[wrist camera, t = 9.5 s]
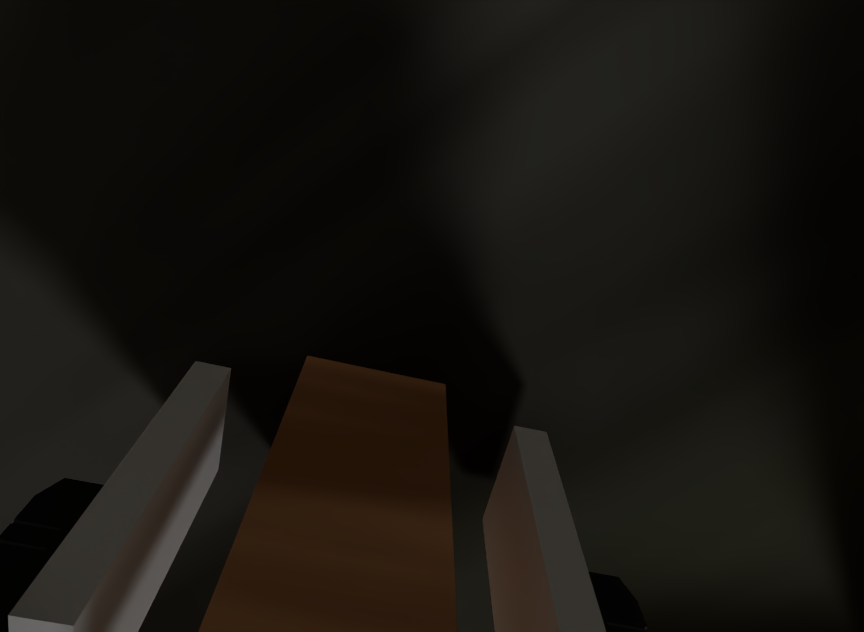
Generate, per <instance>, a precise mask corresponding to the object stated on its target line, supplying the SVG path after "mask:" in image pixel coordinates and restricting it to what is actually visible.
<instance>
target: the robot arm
mask: <svg viewBox="0 0 864 632" xmlns="http://www.w3.org/2000/svg"><path fill="white" fill-rule="evenodd" d="M230 373H231V368H228V367H223V366H218V365H213V364H208V363H203V362H198V361H195V362H194V364H193V365H192V366H191V368H190V369H189V371H188V372H187V373H186V375H185V376H184V377H183V379H182V380H181V381H180V383H179V384H178V385H177V387H176V388H175V390H174V391H173V392H172V394H171V395H170V396H169V398H168V399H167V400H166V402H165V403H164V404H163V406H162V407H161V409H160V410H159V411H158V413H157V414H156V415H155V417H154V418H153V419H152V421H151V422H150V423H149V425H148V426H147V428H146V429H145V430H144V432H143V433H142V434H141V436H140V437H139V438H138V440H137V441H136V442H135V444H134V445H133V447H132V448H131V449H130V451H129V452H128V453H127V455H126V456H125V457H124V459H123V460H122V461H121V463H120V464H119V466H118V467H117V468H116V470H115V471H114V472H113V474H112V475H111V476H110V478H109V479H108V480H107V482H106V483H105V485H100V484H95V483H89V482H84V481H78V480H73V479H67V478H64V479H62V480H60V481H59V482H57V483H55V484H54V485H52V486H50V487H49V488H47V489H45V490H44V491H42V492H40V493H38V494H37V495H35V496H34V497H33V498H32V499H31V501H30V502H29V503H28V504H27V505H26V506H25V508H24V509H23V510H22V511H21V512H20V513H19V514H18V516H17V517H16V518H15V520H14V522H13V524H10V525H9V526H8V527H7V528H6V529H5V530H4V532H3V533H2V534H1V535H0V632H138V630H139V628H140V626H141V624H142V622H143V620H144V618H145V616H146V614H147V612H148V610H149V608H150V606H151V604H152V602H153V600H154V598H155V596H156V594H157V592H158V590H159V588H160V586H161V584H162V582H163V580H164V578H165V576H166V574H167V572H168V570H169V568H170V566H171V564H172V562H173V560H174V558H175V556H176V554H177V552H178V550H179V548H180V546H181V544H182V542H183V540H184V538H185V536H186V534H187V531H188V529H189V527H190V525H191V523H192V521H193V519H194V517H195V515H196V513H197V511H198V509H199V507H200V505H201V503H202V501H203V499H204V497H205V495H206V493H207V491H208V489H209V487H210V485H211V483H212V481H213V479H214V477H215V475H216V473H217V471H218V467H219V459H220V452H221V444H222V436H223V428H224V420H225V412H226V404H227V396H228V388H229V381H230ZM483 528H484V537H485V546H486V555H487V565H488V574H489V583H490V592H491V601H492V610H493V619H494V628H495V632H647V626H646V623H645V621H644V618H643V615H642V613H641V610H640V607H639V605H638V602H637V600H636V599H635V598H634V597H633V595H632V594H631V593H630V591H629V590H628V589H627V587H626V586H625V585H624V584H623V582H622V581H621V580H620V578H619V577H615V576H609V575H604V574H598V573H593V572H588V569H587V566H586V562H585V559H584V556H583V552H582V549H581V546H580V542H579V539H578V536H577V532H576V529H575V526H574V522H573V519H572V516H571V512H570V509H569V506H568V502H567V499H566V496H565V492H564V489H563V486H562V482H561V479H560V475H559V472H558V469H557V465H556V462H555V459H554V455H553V452H552V449H551V445H550V442H549V439H548V435H547V432H543V431H538V430H533V429H528V428H524V427H519V426H514V428H513V431H512V434H511V437H510V440H509V443H508V446H507V449H506V452H505V454H504V457H503V460H502V463H501V466H500V469H499V472H498V475H497V478H496V481H495V484H494V487H493V490H492V493H491V496H490V499H489V502H488V505H487V507H486V510H485V513H484V516H483Z"/></svg>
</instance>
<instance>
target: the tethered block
mask: <svg viewBox="0 0 864 632" xmlns="http://www.w3.org/2000/svg"><path fill="white" fill-rule="evenodd" d="M199 632H457V617H456V596H455V575H454V553H453V532H452V511H451V490H450V468H449V447H448V426H447V405H446V384H442V383H437V382H432V381H428V380H423V379H418V378H413V377H408V376H404V375H399V374H394V373H389V372H384V371H379V370H375V369H370V368H365V367H360V366H355V365H351V364H346V363H341V362H336V361H331V360H326V359H322V358H317V357H312V356H307V358H306V360H305V363H304V365H303V368H302V370H301V373H300V375H299V378H298V380H297V383H296V386H295V388H294V391H293V393H292V396H291V398H290V401H289V403H288V406H287V408H286V411H285V414H284V416H283V419H282V421H281V424H280V426H279V429H278V431H277V434H276V436H275V439H274V441H273V444H272V447H271V449H270V452H269V454H268V457H267V459H266V462H265V464H264V467H263V469H262V472H261V474H260V477H259V480H258V482H257V485H256V487H255V490H254V492H253V495H252V497H251V500H250V502H249V505H248V507H247V510H246V513H245V515H244V518H243V520H242V523H241V525H240V528H239V530H238V533H237V535H236V538H235V541H234V543H233V546H232V548H231V551H230V553H229V556H228V558H227V561H226V563H225V566H224V568H223V571H222V574H221V576H220V579H219V581H218V584H217V586H216V589H215V591H214V594H213V596H212V599H211V601H210V604H209V607H208V609H207V612H206V614H205V617H204V619H203V622H202V624H201V627H200V629H199Z"/></svg>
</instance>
